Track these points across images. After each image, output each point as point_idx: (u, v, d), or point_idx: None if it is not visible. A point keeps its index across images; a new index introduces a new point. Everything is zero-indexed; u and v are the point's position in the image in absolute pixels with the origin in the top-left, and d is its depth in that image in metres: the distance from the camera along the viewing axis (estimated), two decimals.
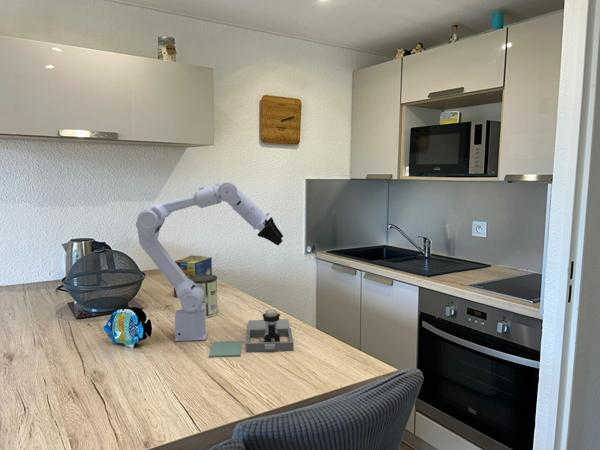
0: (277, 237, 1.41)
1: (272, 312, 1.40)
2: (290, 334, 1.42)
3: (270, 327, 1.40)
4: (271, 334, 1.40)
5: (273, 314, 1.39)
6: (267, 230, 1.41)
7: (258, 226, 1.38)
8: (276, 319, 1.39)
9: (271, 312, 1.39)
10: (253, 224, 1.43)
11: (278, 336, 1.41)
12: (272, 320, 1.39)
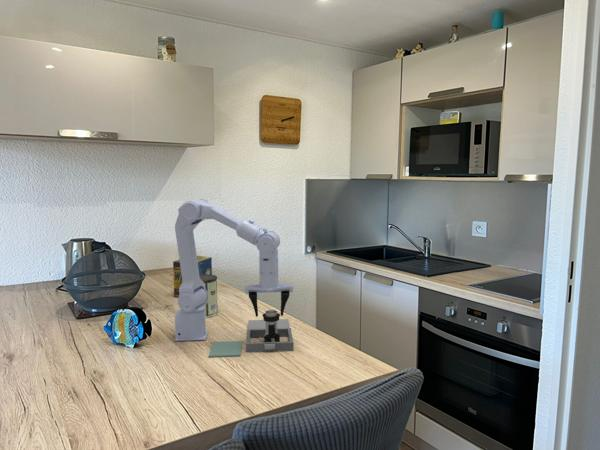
0: None
1: (272, 312, 1.40)
2: (290, 334, 1.42)
3: (270, 327, 1.40)
4: (271, 334, 1.40)
5: (273, 314, 1.39)
6: None
7: (245, 287, 1.39)
8: (276, 319, 1.39)
9: (271, 312, 1.39)
10: None
11: (278, 336, 1.41)
12: (272, 320, 1.39)
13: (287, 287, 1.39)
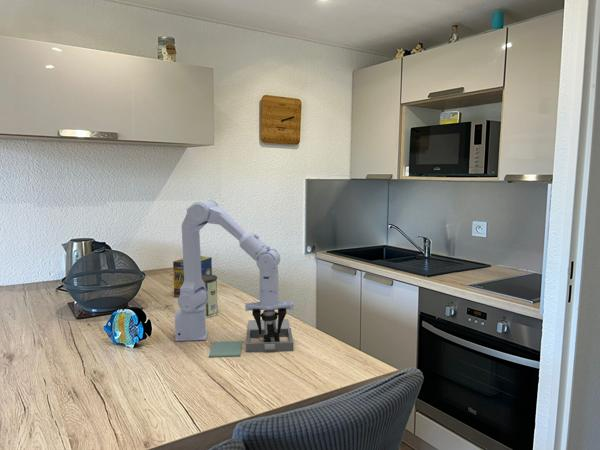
0: None
1: (270, 311, 1.40)
2: (290, 334, 1.42)
3: (269, 326, 1.40)
4: (270, 333, 1.40)
5: (271, 313, 1.39)
6: None
7: (245, 305, 1.40)
8: (274, 318, 1.39)
9: (269, 312, 1.39)
10: None
11: (277, 335, 1.41)
12: (270, 319, 1.39)
13: (287, 305, 1.39)
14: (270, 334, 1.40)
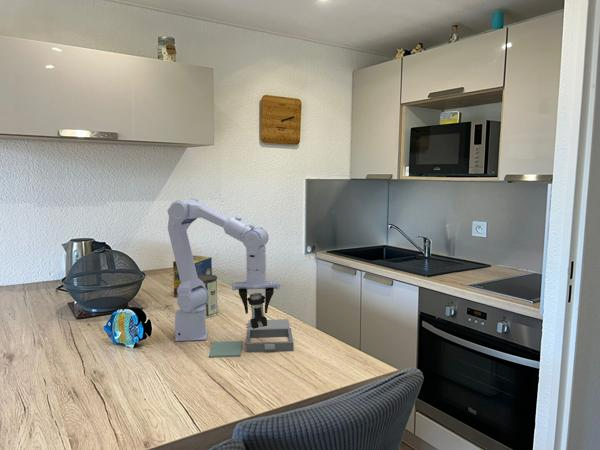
0: None
1: (257, 295, 1.38)
2: (290, 334, 1.42)
3: (256, 310, 1.38)
4: (257, 317, 1.38)
5: (257, 297, 1.37)
6: None
7: None
8: (261, 302, 1.37)
9: (256, 295, 1.37)
10: None
11: (265, 319, 1.39)
12: (257, 303, 1.36)
13: (274, 284, 1.37)
14: (257, 318, 1.38)
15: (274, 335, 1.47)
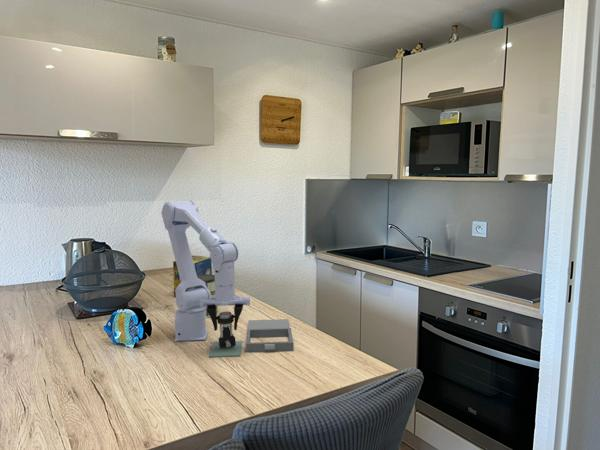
0: None
1: (226, 314, 1.35)
2: (290, 334, 1.42)
3: (224, 329, 1.35)
4: (225, 336, 1.35)
5: (226, 316, 1.34)
6: None
7: (200, 300, 1.34)
8: (230, 321, 1.34)
9: (225, 314, 1.34)
10: None
11: (233, 338, 1.36)
12: (225, 322, 1.33)
13: (243, 300, 1.34)
14: (225, 337, 1.35)
15: (274, 335, 1.47)
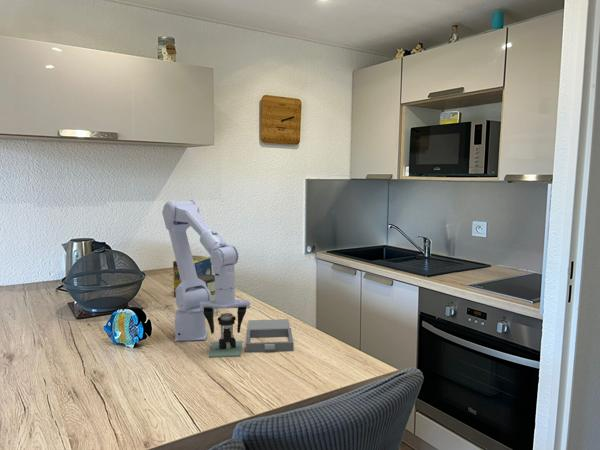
0: None
1: (227, 315, 1.35)
2: (290, 334, 1.42)
3: (225, 331, 1.35)
4: (226, 338, 1.35)
5: (228, 317, 1.34)
6: None
7: (200, 303, 1.34)
8: (231, 323, 1.34)
9: (226, 316, 1.34)
10: None
11: (234, 340, 1.36)
12: (226, 324, 1.34)
13: (243, 303, 1.34)
14: (226, 339, 1.35)
15: (274, 335, 1.47)
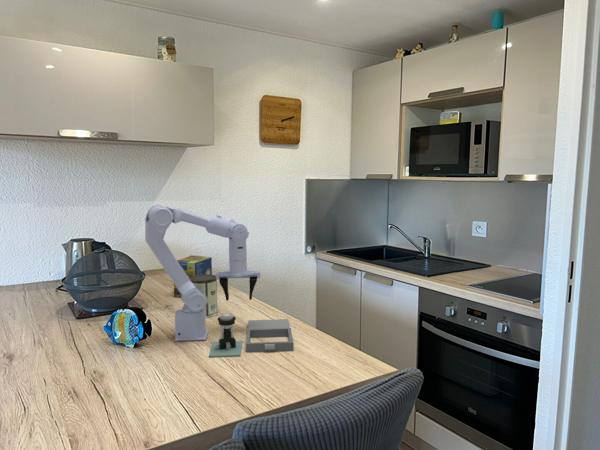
0: None
1: (227, 315, 1.35)
2: (290, 334, 1.42)
3: (225, 331, 1.35)
4: (226, 338, 1.35)
5: (228, 317, 1.34)
6: None
7: (216, 274, 1.51)
8: (231, 323, 1.34)
9: (226, 316, 1.34)
10: None
11: (234, 340, 1.36)
12: (226, 324, 1.34)
13: (255, 273, 1.51)
14: (226, 339, 1.35)
15: (274, 335, 1.47)
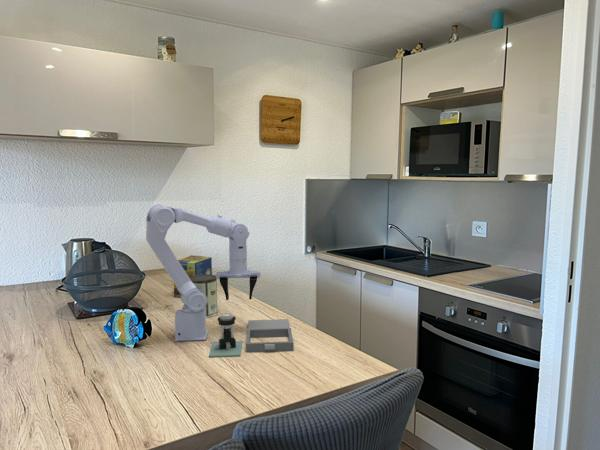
0: None
1: (227, 315, 1.35)
2: (290, 334, 1.42)
3: (225, 331, 1.35)
4: (226, 338, 1.35)
5: (228, 317, 1.34)
6: None
7: None
8: (231, 323, 1.34)
9: (226, 316, 1.34)
10: None
11: (234, 340, 1.36)
12: (226, 324, 1.34)
13: (255, 273, 1.52)
14: (226, 339, 1.35)
15: (274, 335, 1.47)
